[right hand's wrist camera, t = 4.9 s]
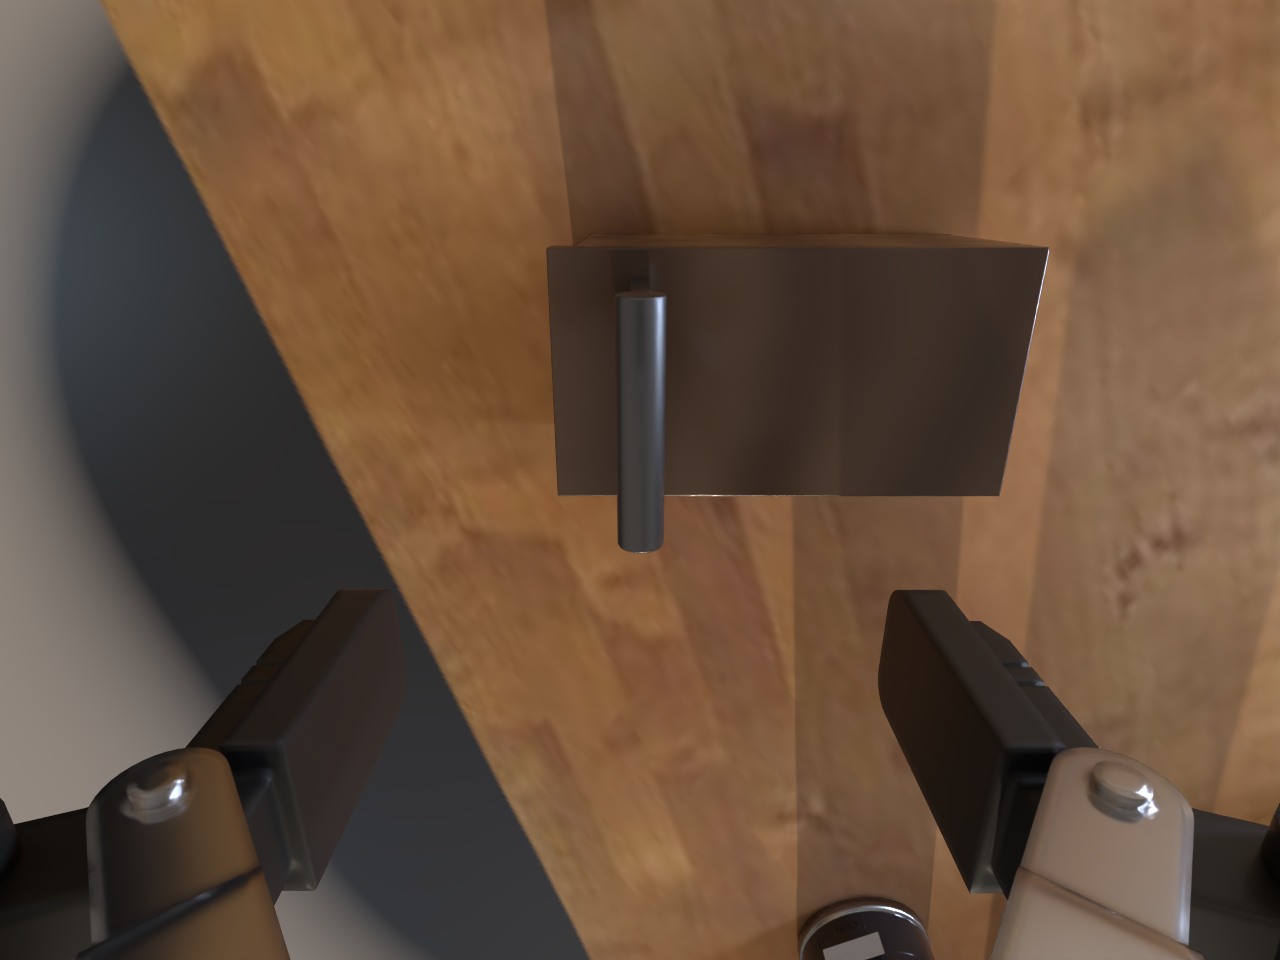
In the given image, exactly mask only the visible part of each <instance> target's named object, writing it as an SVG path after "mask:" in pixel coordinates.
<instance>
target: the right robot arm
mask: <svg viewBox="0 0 1280 960" xmlns="http://www.w3.org/2000/svg"><path fill="white" fill-rule="evenodd" d="M878 687H879V695H880V700H881V704H882V708H883V710H884V713H885V715H886V717H887V719H888V721H889V723H890V726H891V728H892V730H893V732H894V734H895V736H896V738H897V740H898V743H899V745H900V747H901V749H902V751H903V753H904V755H905V757H906V759H907V762H908V764H909V766H910V768H911V770H912V772H913V774H914V776H915V778H916V781H917V783H918V785H919V787H920V789H921V791H922V793H923V795H924V797H925V800H926V802H927V804H928V806H929V808H930V810H931V812H932V814H933V816H934V819H935V821H936V823H937V825H938V827H939V829H940V831H941V833H942V835H943V838H944V840H945V842H946V844H947V846H948V848H949V850H950V852H951V854H952V857H953V859H954V861H955V863H956V865H957V867H958V869H959V871H960V873H961V876H962V878H963V880H964V882H965V884H966V886H967V888H968V890H969V892H970V893H1004V895H1005V897H1006V899H1007V901H1008V902H1007V905H1006V908H1005V911H1004V915H1003V918H1002V921H1001V924H1000V928H999V931H998V934H997V938H996V941H995V944H994V947H993V951H992V954H991V957H990V960H1280V804H1279V805H1278V807H1277V810H1276V812H1275V814H1274V817H1273V819H1272V821H1271V824H1270V826H1266V825H1261V824H1257V823H1253V822H1248V821H1244V820H1240V819H1235V818H1231V817H1227V816H1222V815H1218V814H1214V813H1209V812H1205V811H1201V810H1197V809H1193V808H1191V806H1190V804H1189V802H1188V801H1187V799H1186V798H1185V796H1184V795H1183V794H1182V793H1181V792H1180V790H1179V789H1178V788H1177V787H1176V786H1175V785H1173V784H1172V783H1171V782H1170V781H1169V780H1168V779H1166V778H1165V777H1164V776H1162V775H1161V774H1160V773H1158V772H1157V771H1155V770H1153V769H1152V768H1150V767H1149V766H1147V765H1145V764H1143V763H1141V762H1139V761H1137V760H1135V759H1132V758H1130V757H1127V756H1125V755H1122V754H1119V753H1116V752H1112V751H1108V750H1104V749H1099V747H1098V746H1097V745H1096V744H1095V743H1094V741H1093V740H1092V739H1091V738H1090V737H1089V735H1088V734H1087V733H1086V732H1085V731H1084V729H1083V728H1082V727H1081V726H1080V725H1079V723H1078V722H1077V721H1076V720H1075V719H1074V717H1073V716H1072V715H1071V714H1070V713H1069V711H1068V710H1067V709H1066V708H1065V707H1064V705H1063V704H1062V703H1061V702H1060V701H1059V699H1058V698H1057V697H1056V696H1055V695H1054V693H1053V692H1052V691H1051V690H1050V689H1049V687H1048V686H1044V681H1043V680H1042V679H1041V678H1040V677H1039V675H1038V674H1037V673H1036V672H1035V671H1034V669H1033V668H1032V667H1028V662H1027V661H1026V660H1025V659H1024V657H1023V656H1022V655H1021V654H1020V653H1019V651H1018V650H1017V649H1016V648H1015V647H1014V645H1013V644H1012V643H1011V642H1010V641H1009V640H1008V639H1006V638H1005V637H1003V636H1002V635H1000V634H999V633H997V632H996V631H994V630H993V629H991V628H990V627H988V626H987V625H985V624H984V623H982V622H981V621H969V620H968V619H967V618H966V617H965V615H964V614H963V613H962V611H961V610H960V609H959V607H958V606H957V605H956V604H955V602H954V601H953V600H952V598H951V597H950V596H949V595H948V594H947V592H945V591H943V590H895V591H894V592H893V593H892V595H891V597H890V600H889V604H888V610H887V617H886V624H885V631H884V637H883V644H882V651H881V658H880V664H879V672H878ZM404 691H405V666H404V659H403V652H402V645H401V639H400V632H399V625H398V618H397V611H396V605H395V600H394V596H393V594H392V592H391V591H390V590H389V589H340V590H339V591H337V592H336V594H335V595H334V596H333V597H332V599H331V600H330V601H329V603H328V604H327V605H326V607H325V608H324V609H323V611H322V612H321V613H320V614H319V616H318V617H317V618H316V620H303V621H302V622H300V623H299V624H297V625H296V626H294V627H293V628H291V629H289V630H288V631H286V632H285V633H283V634H282V635H280V636H279V637H277V638H276V639H275V640H274V641H273V642H272V643H271V645H270V646H269V647H268V648H267V649H266V651H265V652H264V653H263V654H262V655H261V657H260V658H259V659H258V660H257V665H256V666H252V668H251V669H250V670H249V671H248V672H247V674H246V675H245V676H244V677H243V678H242V682H241V685H237V686H236V687H235V688H234V689H233V691H232V692H231V693H230V694H229V695H228V697H227V698H226V699H225V700H224V702H223V703H222V704H221V705H220V706H219V708H218V709H217V710H216V711H215V712H214V714H213V715H212V716H211V717H210V719H209V720H208V721H207V722H206V723H205V725H204V726H203V727H202V728H201V729H200V731H199V732H198V733H197V734H196V736H195V737H194V738H193V739H192V740H191V742H190V743H189V744H188V745H187V746H186V748H182V749H176V750H172V751H168V752H164V753H161V754H158V755H155V756H153V757H150V758H148V759H145V760H143V761H141V762H139V763H137V764H135V765H133V766H131V767H130V768H128V769H127V770H125V771H123V772H122V773H120V774H119V775H118V776H116V777H115V778H114V779H112V780H111V781H110V782H109V783H108V784H107V785H105V786H104V787H103V788H102V789H101V790H100V792H99V793H98V794H97V795H96V796H95V798H94V799H93V801H92V802H91V804H90V806H89V807H87V808H84V809H79V810H75V811H70V812H66V813H62V814H57V815H53V816H49V817H44V818H40V819H35V820H31V821H27V822H22V823H18V824H13V822H12V819H11V817H10V815H9V813H8V810H7V808H6V806H5V803H4V801H3V800H2V799H1V798H0V960H290V957H289V954H288V951H287V947H286V944H285V941H284V938H283V934H282V931H281V928H280V924H279V921H278V918H277V915H276V911H275V908H274V905H275V903H276V901H277V899H278V897H279V895H280V893H281V891H315V890H316V888H317V886H318V884H319V882H320V880H321V877H322V875H323V873H324V871H325V869H326V867H327V865H328V863H329V860H330V858H331V856H332V854H333V852H334V850H335V847H336V845H337V843H338V841H339V839H340V837H341V835H342V832H343V830H344V828H345V826H346V824H347V822H348V820H349V818H350V815H351V813H352V811H353V809H354V807H355V805H356V803H357V801H358V798H359V796H360V794H361V792H362V790H363V788H364V786H365V783H366V781H367V779H368V777H369V775H370V773H371V771H372V768H373V766H374V764H375V762H376V760H377V758H378V756H379V753H380V751H381V749H382V747H383V745H384V743H385V741H386V738H387V736H388V734H389V732H390V730H391V728H392V726H393V724H394V721H395V719H396V717H397V715H398V713H399V711H400V708H401V705H402V701H403V697H404ZM798 953H799V957H800V960H935V958H934V956H933V953H932V950H931V948H930V942H929V939H928V936H927V934H926V931H925V928H924V926H923V924H922V922H921V920H920V918H919V917H918V916H917V915H916V914H915V913H914V912H913V911H912V910H911V909H909V908H908V907H906V906H904V905H902V904H900V903H898V902H895V901H892V900H888V899H883V898H872V897H865V898H855V899H849V900H845V901H842V902H838V903H836V904H833V905H831V906H829V907H827V908H825V909H823V910H821V911H820V912H818V913H817V914H816V915H815V916H813V917H812V918H811V919H810V920H809V921H808V922H807V924H806V925H805V926H804V928H803V929H802V931H801V933H800V936H799V940H798Z"/></svg>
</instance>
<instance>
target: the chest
mask: <svg viewBox="0 0 1280 960" xmlns="http://www.w3.org/2000/svg"><path fill="white" fill-rule="evenodd" d="M577 246H1033V245H1025V244H1017V243H1009V242H1001V241H993V240H985V239H977V238H969V237H961V236H953V235H949V234H590V235H589V237H587V238H586V239H585V240H583V241H582V242H581V243H579V244H578V245H577Z"/></svg>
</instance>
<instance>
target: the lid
mask: <svg viewBox="0 0 1280 960" xmlns="http://www.w3.org/2000/svg"><path fill="white" fill-rule="evenodd" d="M546 251H547V273H548V294H549V316H550V337H551V359H552V380H553V402H554V423H555V445H556V466H557V488H558V496H617V521H618V545H619V546H620V547H621V548H622V549H623V550H626V551H628V552H633V553H649V552H653V551H656V550H658V549H659V548H661V547H662V545H663V537H664V496H999V495H1000V492H1001V487H1002V482H1003V477H1004V472H1005V467H1006V462H1007V457H1008V452H1009V447H1010V442H1011V437H1012V432H1013V427H1014V423H1015V418H1016V413H1017V408H1018V403H1019V398H1020V393H1021V388H1022V383H1023V378H1024V373H1025V368H1026V363H1027V358H1028V353H1029V348H1030V343H1031V338H1032V333H1033V328H1034V323H1035V318H1036V313H1037V308H1038V304H1039V299H1040V294H1041V289H1042V284H1043V279H1044V274H1045V269H1046V264H1047V259H1048V254H1049V248H1048V247H1042V246H550V247H548V248H547V249H546Z"/></svg>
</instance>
